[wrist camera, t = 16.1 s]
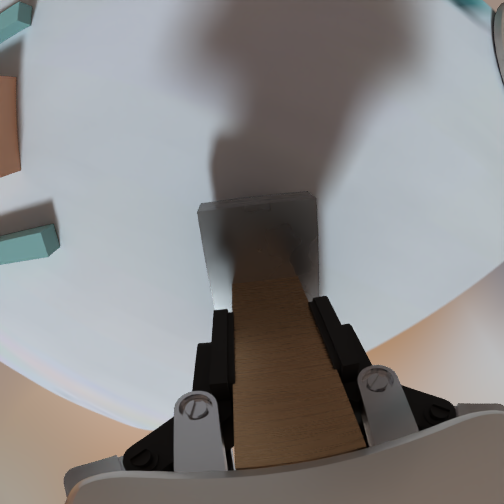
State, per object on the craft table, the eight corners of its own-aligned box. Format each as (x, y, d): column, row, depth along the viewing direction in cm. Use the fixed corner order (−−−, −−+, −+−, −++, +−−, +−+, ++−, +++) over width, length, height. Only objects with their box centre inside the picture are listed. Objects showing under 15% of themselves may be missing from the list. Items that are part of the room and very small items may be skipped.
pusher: (200, 203, 14) (136, 363, 4) (307, 191, 14) (446, 317, 4) (230, 366, 18) (234, 531, 8) (311, 355, 18) (360, 512, 8)
